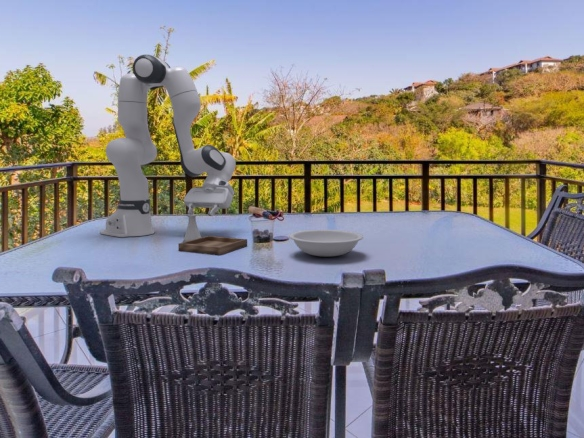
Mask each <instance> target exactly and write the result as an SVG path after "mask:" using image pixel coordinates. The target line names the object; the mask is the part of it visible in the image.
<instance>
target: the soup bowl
mask: <svg viewBox="0 0 584 438" xmlns="http://www.w3.org/2000/svg"><path fill="white" fill-rule="evenodd" d="M288 237H289V239H291V240H292V241H293V242H294V243H295V245H296V246H297V247H298V249H299V250H301V251H302V252H303V253H305V254H308V255H312V256H315V257H323V258H324V257H338V256H343V255H345V254H348V253H349V252H351V251H352V250H353V249H354V248H355V247H356V246H357V244H358V242H359V241H361V240H363V239H364V236H363V234H360V233H358V232H355V231H349V230H340V229H307V230H299V231H294V232H291V233H290V234H288Z"/></svg>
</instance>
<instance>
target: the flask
mask: <svg viewBox="0 0 584 438" xmlns="http://www.w3.org/2000/svg"><path fill="white" fill-rule="evenodd" d="M187 217H188V222H187V223H188V224H187V228H186V230H185V235H184V238H183V241H182V243H183V242H186V241H190V240H194V239H198V238H201V237H202V235H201V233H200V230H199V228H198V224H197V221H196V220H197V218H196V217H197V214H193V215H189V214H187Z"/></svg>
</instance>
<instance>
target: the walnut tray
mask: <svg viewBox="0 0 584 438" xmlns="http://www.w3.org/2000/svg"><path fill="white" fill-rule="evenodd" d="M246 247H248V239H247V238H235V237H226V236H225V237H224V236H215V235H214V236H213V235H207V236H201V238H198V239H194V240H190V241H186V242H183V241H182V242H179V243H178V251H179V252H186V253H196V254H204V253H207V254H206V255H213V254H215V256H222V255H226V254H229V253H231V252H234V251H237V250H240V249H243V248H246Z"/></svg>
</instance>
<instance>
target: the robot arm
mask: <svg viewBox="0 0 584 438" xmlns="http://www.w3.org/2000/svg"><path fill="white" fill-rule="evenodd" d="M163 87H164V88H165V89H166V90H165V91H167V95H168V97H169V100H170V103H171V108H172V112H173V117H172V126H173V129H174V134H175V139H176V142H177V147H178V151H179V155H180V156H179V157H180V166H181V169H182V171H183V172H184V173H185V174H186V175H188V176H189V177H192V178H195V177H196V178H197V177H198V176H201V175H202V174H204V173H206V174H207V175H206V177H205V180H204V181H203V183H202V185H201V186H194V187H192V188H190V190H189V191H187V194H186V195H185V197H184V198H183V202H184V205H186V207H187V208H188V211H187V215H194V213H195V211H194V209H195V208H206V209H209V208H210V209H209V210H208V212H207V215H208V216H209V217H214V215H215V214H216V213H217V212H218V211H219V210H220V209H225V210H226V209H228V208H230V206H231V204H232V202H233V200H234V195H235V190H234V189H233V186H232V185H231V184H230V183H229V181H230V180H231V179H232V176H233V175H234V172H235V169H236V166H237V165H236V164H237V162H236V159H235V157H234V156H233V155H232V154H230V153H229V152H223V151H220V150H219V149H218V148H217V147H215V146H214V145H212V144H206V145H203V146H202V147H198V148H197V149H195V146H194V143H193V139H192V134H191V126H192V124H193V121H194V120H195V119H196V117H198V114H199V113H200V110H201V108H202V103H201V98H200V95H199V92H198V89H197V87H196V85H195V83H194V80H193V78H192V76H191V74H190V73H189V72H188V70H187V69H186V68H185V67H182V66H174V67H171V66H170V65H169V64H168V63H167V62H166V61H164V60H163V59H162V58H159V57H157V56H153V55H151V54H141V55H139V56H137V57H136V58H135V59H134V61H133V63H132V73H126V74H123V75H122V76H121V78H120V80H119V85H118V94H117V120H118V124H119V125H120V126H121V128H122V130H123V132H124V136H125V137H118V138H116V139H112V140H110V141H109V142H108V143H107V145H106V147H105V154H106V155H105V156H106V158H107V160H108V161H109V162H110V163H111V164H112V165H113V167H114V169H115V172H116V175H117V179H118V183H119V194H120V200H119V201H115V205H116V206H117V209H115V211H114V212H113V213H112V214H111V215H110V216H108V217H107V218H106V220H105V229H102V230H100V231H99V234H100V235H105V236H112V237H116V238H117V237H118V238H124V237H126V238H127V237H142V236H149V235H153V234H155V229H154V226H153V223H152V215H151V199H150V198H149V197H150V193H149V192H150V191H149V180H148V179H147V177H146V176H145V175H144V173H143V170H142V166H143V165H148V164H150V163H152V162H153V161H155V160H156V158H157V155H158V149H157V146H156V144H155V143H154V141H153V140H152V138H151V134H150V130H149V125H148V92H149V91H150V90H155V89H159V88H160V89H161V88H163Z"/></svg>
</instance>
